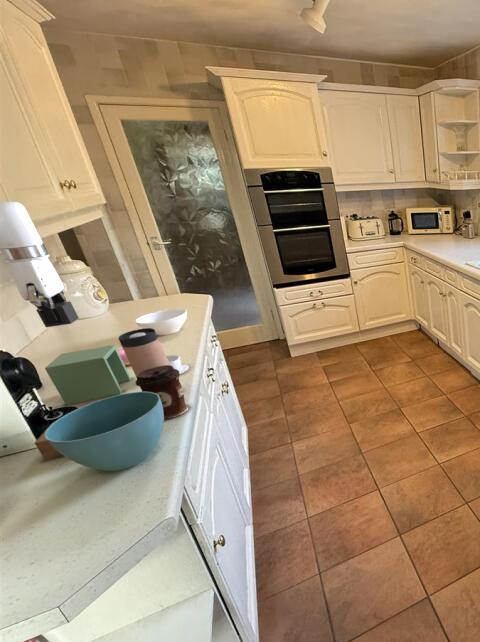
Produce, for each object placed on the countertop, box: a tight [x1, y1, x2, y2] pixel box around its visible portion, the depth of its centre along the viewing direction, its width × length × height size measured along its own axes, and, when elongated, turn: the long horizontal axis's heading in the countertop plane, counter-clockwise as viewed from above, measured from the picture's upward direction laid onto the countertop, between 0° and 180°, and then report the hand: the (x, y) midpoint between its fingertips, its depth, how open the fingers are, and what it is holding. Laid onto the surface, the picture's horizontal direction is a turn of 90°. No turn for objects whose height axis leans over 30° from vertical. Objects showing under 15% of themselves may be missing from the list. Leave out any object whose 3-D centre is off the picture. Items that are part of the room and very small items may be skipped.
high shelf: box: [44, 344, 132, 406], centre depth 115 cm, size 12×10×12 cm
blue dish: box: [44, 391, 165, 472], centre depth 87 cm, size 18×18×12 cm
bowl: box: [135, 308, 188, 336], centre depth 158 cm, size 16×16×7 cm
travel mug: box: [118, 328, 170, 379], centre depth 110 cm, size 8×8×20 cm
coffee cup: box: [135, 365, 189, 420], centre depth 104 cm, size 9×8×13 cm
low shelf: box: [34, 421, 65, 461], centre depth 95 cm, size 12×9×5 cm
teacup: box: [166, 354, 190, 375], centre depth 126 cm, size 10×10×5 cm
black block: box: [35, 300, 80, 328], centre depth 106 cm, size 5×5×5 cm
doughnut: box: [117, 348, 131, 366], centre depth 136 cm, size 11×11×4 cm
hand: (60, 319), depth 107 cm, fingers closed on black block, 5 cm apart
